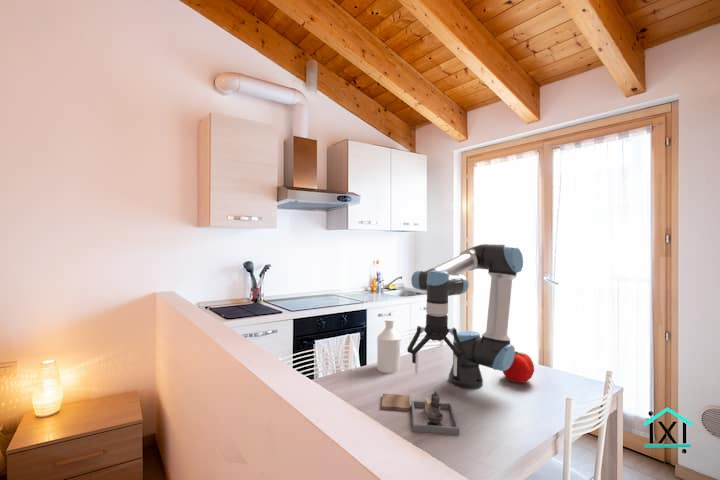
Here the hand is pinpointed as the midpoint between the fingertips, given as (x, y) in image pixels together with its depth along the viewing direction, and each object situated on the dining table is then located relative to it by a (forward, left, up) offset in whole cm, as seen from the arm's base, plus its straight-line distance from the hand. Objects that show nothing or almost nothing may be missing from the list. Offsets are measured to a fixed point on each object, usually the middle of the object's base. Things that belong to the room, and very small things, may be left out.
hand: (435, 373), depth 127 cm
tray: (0, -4, -18) cm, 19 cm away
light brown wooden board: (+14, -14, -18) cm, 27 cm away
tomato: (-43, -45, -19) cm, 65 cm away
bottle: (+18, -51, -19) cm, 57 cm away
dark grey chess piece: (0, 0, -19) cm, 19 cm away
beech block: (0, -9, -19) cm, 21 cm away
